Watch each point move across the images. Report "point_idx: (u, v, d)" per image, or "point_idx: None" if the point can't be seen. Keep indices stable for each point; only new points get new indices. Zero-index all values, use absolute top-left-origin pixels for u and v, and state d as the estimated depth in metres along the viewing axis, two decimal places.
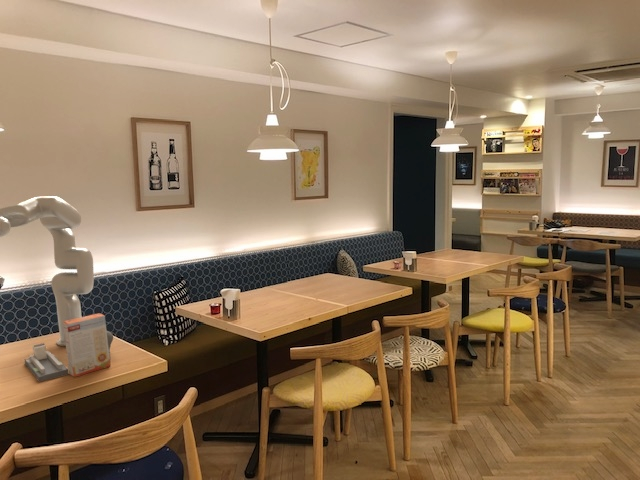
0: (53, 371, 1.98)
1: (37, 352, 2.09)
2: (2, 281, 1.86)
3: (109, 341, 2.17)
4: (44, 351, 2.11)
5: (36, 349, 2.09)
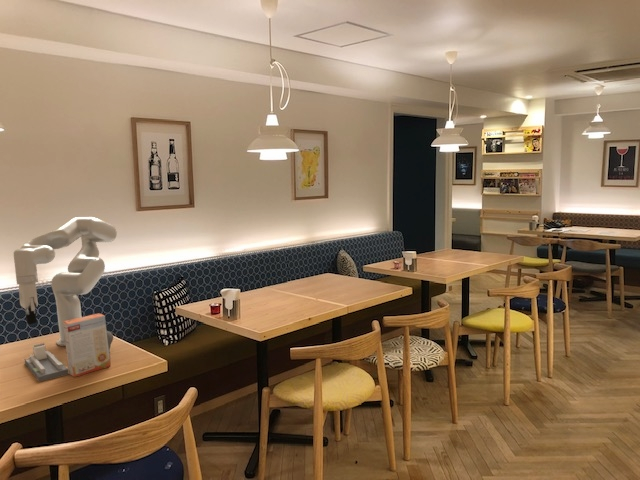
0: (53, 371, 1.98)
1: (37, 352, 2.09)
2: None
3: (109, 341, 2.17)
4: (44, 351, 2.11)
5: (36, 349, 2.09)
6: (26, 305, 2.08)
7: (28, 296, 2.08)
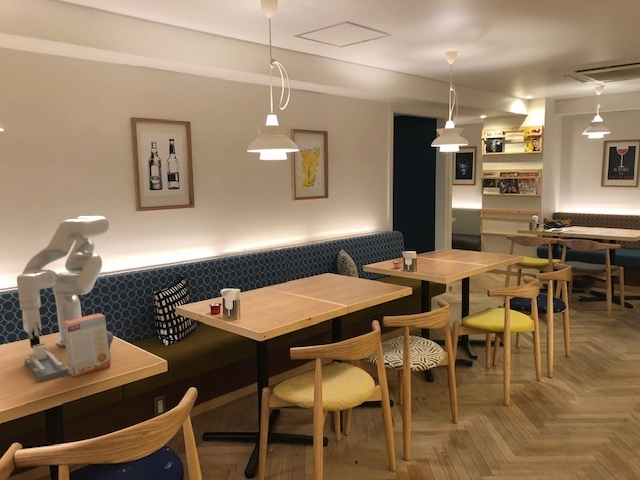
0: (53, 371, 1.98)
1: (37, 352, 2.09)
2: None
3: (109, 341, 2.17)
4: (44, 351, 2.11)
5: (36, 349, 2.09)
6: (30, 330, 2.10)
7: (32, 321, 2.10)
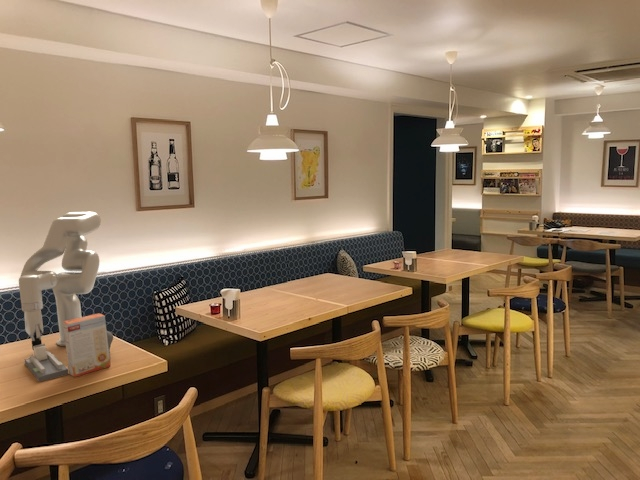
0: (53, 371, 1.98)
1: (38, 353, 2.08)
2: None
3: (109, 341, 2.17)
4: (45, 352, 2.10)
5: (37, 350, 2.08)
6: (31, 332, 2.07)
7: (33, 323, 2.07)
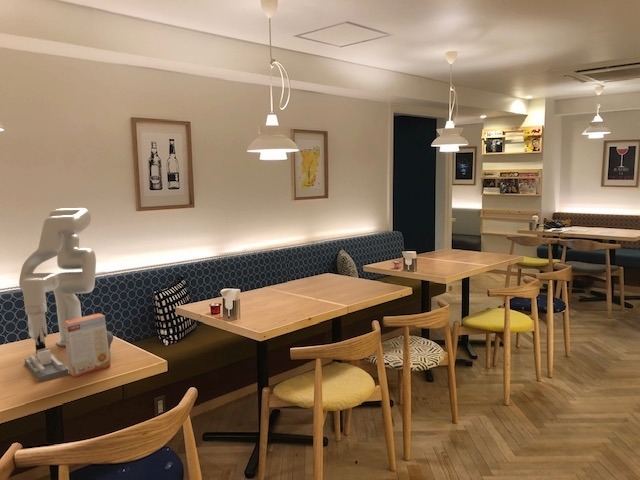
0: (53, 371, 1.98)
1: (41, 357, 2.03)
2: None
3: (109, 341, 2.17)
4: (49, 356, 2.05)
5: (40, 354, 2.03)
6: (35, 336, 2.02)
7: (37, 327, 2.02)
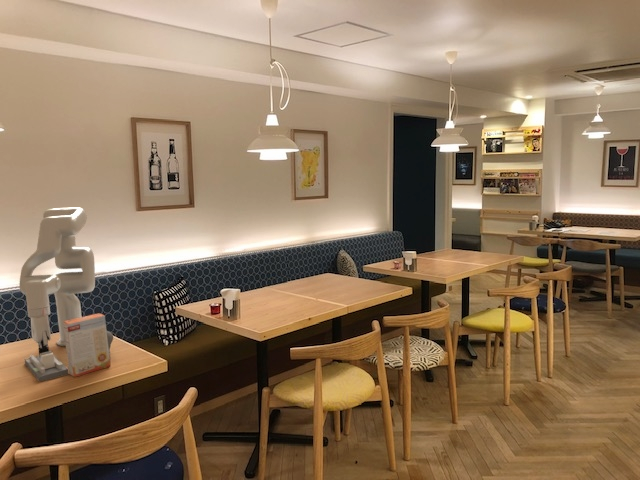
0: (53, 371, 1.98)
1: (45, 360, 2.00)
2: None
3: (109, 341, 2.17)
4: (52, 359, 2.01)
5: (44, 357, 1.99)
6: (39, 339, 1.99)
7: (40, 330, 1.99)
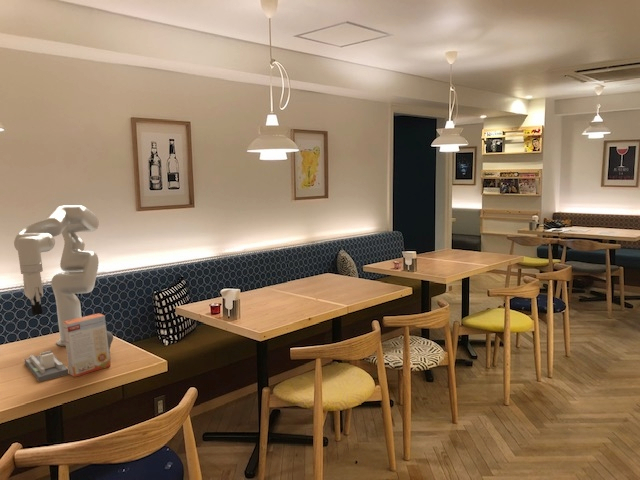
0: (53, 371, 1.98)
1: (45, 360, 2.00)
2: None
3: (109, 341, 2.17)
4: (52, 359, 2.01)
5: (43, 357, 2.00)
6: (31, 295, 2.00)
7: (33, 286, 2.00)
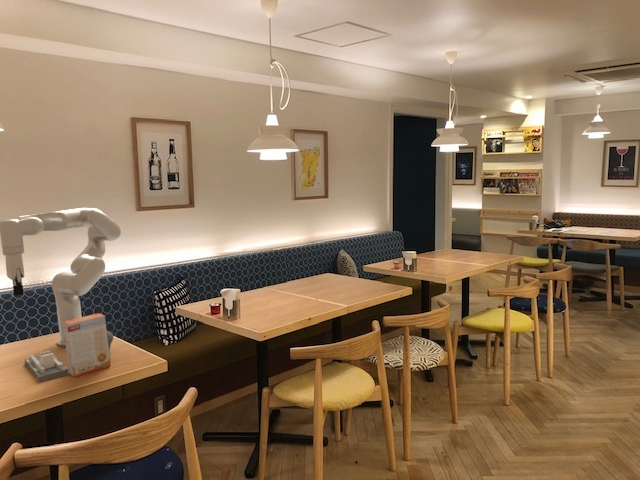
0: (53, 371, 1.98)
1: (45, 360, 2.00)
2: None
3: (109, 341, 2.17)
4: (52, 359, 2.01)
5: (43, 357, 2.00)
6: (12, 276, 2.08)
7: (14, 267, 2.08)
